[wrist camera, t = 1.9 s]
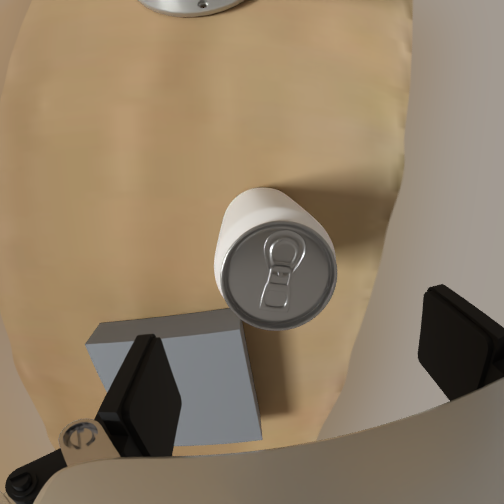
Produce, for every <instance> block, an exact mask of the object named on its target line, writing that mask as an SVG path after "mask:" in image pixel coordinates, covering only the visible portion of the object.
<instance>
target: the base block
mask: <svg viewBox="0 0 504 504" xmlns="http://www.w3.org/2000/svg"><path fill="white" fill-rule="evenodd" d="M143 334H155V336H156V337H160V338H161V340H162V343H163V346H164V349H165V352H166V355H167V358H168V361H169V364H170V367H171V370H172V373H173V376H174V379H175V382H176V384H177V387H178V390H179V393H180V396H181V400H182V407H181V412H180V416H179V421H178V426H177V431H176V437H175V442H174V446H194V445H213V444H227V443H238V442H248V441H256V440H262V430H261V419H260V411H259V406H258V401H257V396H256V391H255V386H254V381H253V376H252V371H251V366H250V361H249V356H248V350H247V345H246V340H245V335H244V329H243V324H242V320H241V319H240V318H239V317H237V316H236V315H235V314H234V313H233V311H232V310H231V309H230V308H227V309H220V310H213V311H205V312H197V313H190V314H181V315H173V316H165V317H156V318H147V319H137V320H128V321H117V322H107V323H100V324H99V325H98V327H97V328H96V329H95V331H94V332H93V334H92V335H91V336H90V338H89V339H88V341H87V342H86V343H85V346H86V348H87V350H88V353H89V355H90V357H91V360H92V362H93V364H94V366H95V368H96V371H97V373H98V375H99V377H100V379H101V381H102V383H103V385H104V387H105V389H106V391H107V392H108V390H109V388H110V386H111V384H112V382H113V380H114V378H115V377H116V375H117V373H118V371H119V369H120V367H121V365H122V363H123V361H124V359H125V357H126V355H127V353H128V352H129V350H130V348H131V346H132V344H133V342H134V340H135V338H136V337H137V335H143Z"/></svg>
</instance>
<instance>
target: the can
mask: <svg viewBox="0 0 504 504" xmlns="http://www.w3.org/2000/svg"><path fill="white" fill-rule="evenodd" d="M214 272H215V279H216V282H217V286H218V288H219V290H220V292H221V294H222V296H223V297H224V299H225V301H226V303H227V305H228V306H229V308H230V309H231V310H232V311H233V313H234V314H235V315H236V316H237V317H239V318H240V319H241V320H242V321H244V322H246V323H247V324H249V325H251V326H254V327H256V328H260V329H264V330H270V331H281V330H288V329H293V328H296V327H299V326H301V325H303V324H305V323H307V322H309V321H310V320H312V319H313V318H315V317H316V316H317V315H318V314H319V313H320V312H321V311H322V310H323V309H324V308H325V307H326V305H327V304H328V302H329V301H330V299H331V297H332V295H333V292H334V290H335V286H336V281H337V265H336V256H335V250H334V247H333V244H332V241H331V239H330V237H329V235H328V234H327V232H326V230H325V229H324V228H323V226H322V225H321V224H320V223H319V222H318V221H317V220H316V219H315V218H314V217H313V216H311V215H310V214H309V213H308V212H307V211H306V210H304V209H303V208H302V207H301V206H300V205H298V204H297V203H296V202H295V201H293V200H292V199H291V198H290V197H288V196H287V195H286V194H284V193H283V192H281V191H279V190H276V189H273V188H253V189H250V190H247V191H245V192H243V193H241V194H240V195H238V196H237V197H236V198H235V199H234V200H233V201H232V202H231V203H230V205H229V206H228V208H227V210H226V212H225V214H224V217H223V221H222V225H221V229H220V233H219V238H218V242H217V247H216V252H215V259H214Z"/></svg>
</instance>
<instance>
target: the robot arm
mask: <svg viewBox="0 0 504 504" xmlns="http://www.w3.org/2000/svg"><path fill="white" fill-rule="evenodd" d="M138 1H139V2H140V3H142V4H143V5H144V6H145V7H147V8H149V9H151V10H153V11H154V12H157V13H161V14H164V15H168V16H176V17H197V16H204V15H210V14H214V13H217V12H221V11H224V10H227V9H229V8H231V7H234V6H236V5H238V4H239V3H241V2H243V1H245V0H138ZM203 6H206V7H205V8H202V7H203ZM418 359H419V362H420V363H421V365H422V366H423V367H424V368H425V370H426V371H427V372H428V373H429V375H430V376H431V377H432V378H433V380H434V381H435V382H436V383H437V385H438V386H439V387H440V389H441V390H442V391H443V392H444V394H445V395H446V396H447V398H448V399H449V400H450V402H447V403H445V404H442V405H440V406H437V407H434V408H431V409H429V410H426V411H423V412H421V413H418V414H415V415H412V416H409V417H406V418H403V419H400V420H396V421H393V422H390V423H387V424H384V425H380V426H377V427H373V428H370V429H366V430H362V431H358V432H355V433H350V434H346V435H342V436H338V437H334V438H329V439H325V440H319V441H314V442H309V443H304V444H298V445H293V446H287V447H280V448H273V449H266V450H259V451H250V452H241V453H230V454H216V455H199V456H172V452H173V447H174V442H175V437H176V431H177V426H178V421H179V416H180V412H181V407H182V400H181V396H180V393H179V390H178V387H177V384H176V382H175V379H174V376H173V373H172V370H171V367H170V364H169V361H168V358H167V355H166V352H165V349H164V346H163V343H162V340H161V338H160V337H156V336H155V334H143V335H137V337H136V338H135V340H134V342H133V344H132V346H131V348H130V350H129V352H128V353H127V355H126V357H125V359H124V361H123V363H122V365H121V367H120V369H119V371H118V373H117V375H116V377H115V378H114V380H113V382H112V384H111V386H110V388H109V390H108V392H107V394H106V396H105V398H104V400H103V402H102V404H101V406H100V408H99V411H98V413H97V415H96V417H95V419H94V420H93V419H80V420H76V421H74V422H72V423H70V424H68V425H67V426H66V427H65V428H64V429H63V430H62V432H61V433H60V435H59V439H58V440H59V445H60V449H58V450H56V451H54V452H52V453H50V454H48V455H46V456H43V457H41V458H39V459H37V460H35V461H33V462H31V463H29V464H26V465H24V466H22V467H20V468H18V469H16V470H15V471H13V472H12V473H11V474H10V475H9V477H8V478H7V480H6V485H5V488H6V492H5V493H4V494H3V493H2V492H1V491H0V504H504V328H503V327H502V326H501V325H499V324H498V323H497V322H495V321H494V320H492V319H491V318H490V317H489V316H487V315H486V314H485V313H483V312H482V311H480V310H479V309H478V308H476V307H475V306H474V305H472V304H471V303H469V302H468V301H467V300H465V299H464V298H462V297H461V296H459V295H458V294H457V293H455V292H454V291H452V290H451V289H449V288H448V287H446V286H445V285H443V284H441V285H437V286H433V287H429V288H428V290H427V292H425V294H424V299H423V312H422V322H421V332H420V340H419V349H418Z"/></svg>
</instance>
